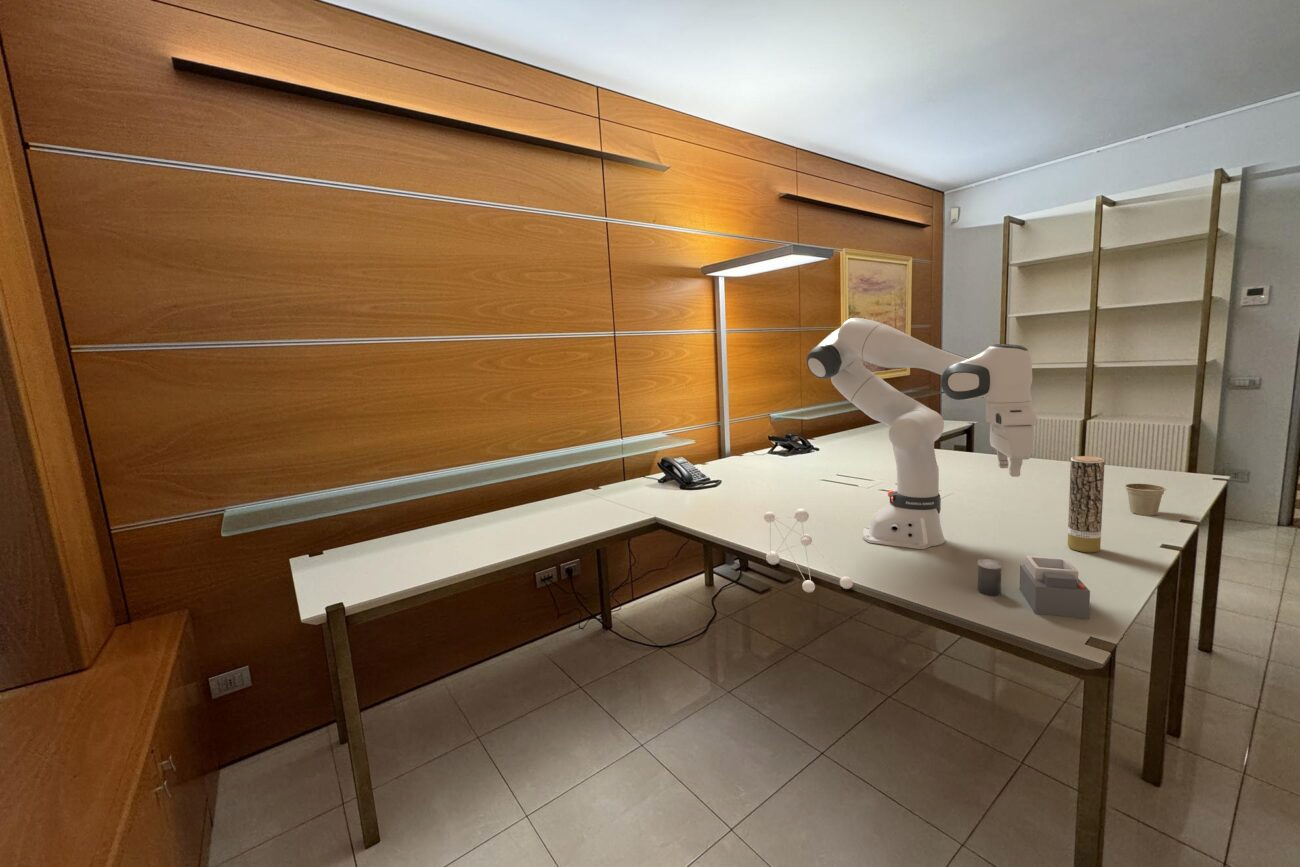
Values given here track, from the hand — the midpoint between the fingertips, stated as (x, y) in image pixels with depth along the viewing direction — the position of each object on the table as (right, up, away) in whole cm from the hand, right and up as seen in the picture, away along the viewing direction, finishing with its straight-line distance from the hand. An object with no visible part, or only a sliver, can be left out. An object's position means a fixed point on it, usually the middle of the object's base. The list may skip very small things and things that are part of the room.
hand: (1008, 471), depth 119 cm
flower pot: (+73, -17, +42) cm, 85 cm away
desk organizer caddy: (+3, -28, -9) cm, 30 cm away
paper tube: (+33, -23, +18) cm, 44 cm away
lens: (-6, -28, -2) cm, 28 cm away
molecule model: (-45, -29, +13) cm, 55 cm away
